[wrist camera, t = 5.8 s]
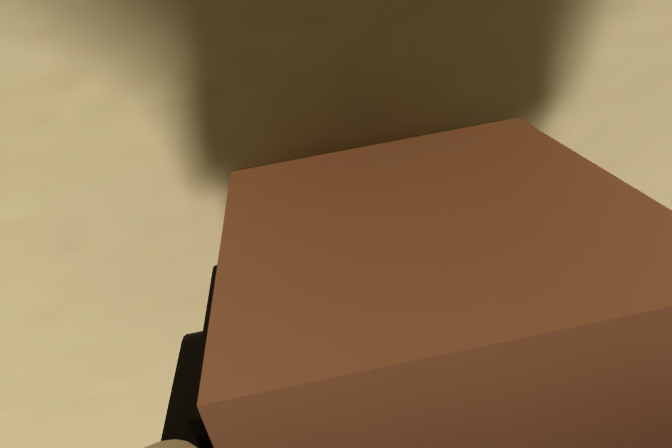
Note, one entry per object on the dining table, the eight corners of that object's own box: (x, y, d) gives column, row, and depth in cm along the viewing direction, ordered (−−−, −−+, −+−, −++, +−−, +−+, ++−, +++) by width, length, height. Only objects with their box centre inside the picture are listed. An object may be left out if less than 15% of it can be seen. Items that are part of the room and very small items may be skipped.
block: (518, 117, 10) (789, 281, 5) (511, 336, 13) (677, 586, 8) (231, 171, 10) (197, 406, 5) (288, 383, 13) (307, 674, 8)
